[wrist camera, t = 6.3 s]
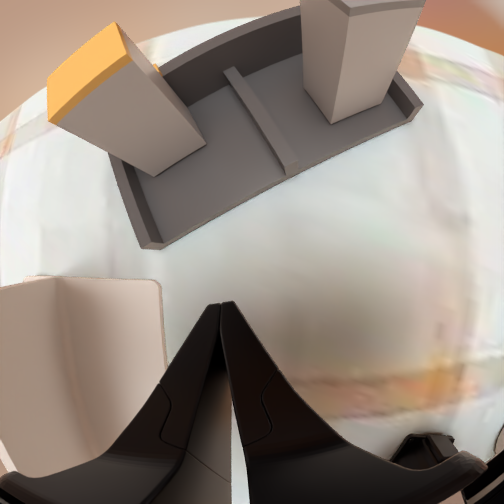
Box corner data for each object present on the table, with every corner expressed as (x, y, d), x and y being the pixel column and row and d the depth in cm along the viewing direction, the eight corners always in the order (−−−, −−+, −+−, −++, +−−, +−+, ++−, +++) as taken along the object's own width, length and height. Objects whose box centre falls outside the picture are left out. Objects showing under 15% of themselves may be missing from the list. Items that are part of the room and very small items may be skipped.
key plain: (381, 103, 18) (426, 0, 6) (330, 124, 18) (350, 7, 7) (352, 69, 18) (372, -37, 7) (303, 87, 19) (297, -29, 7)
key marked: (206, 143, 20) (126, 53, 9) (153, 176, 21) (47, 121, 9) (188, 109, 20) (114, 21, 9) (140, 141, 21) (47, 78, 10)
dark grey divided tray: (411, 120, 18) (441, 80, 12) (160, 249, 22) (110, 246, 15) (340, 37, 20) (345, -10, 13) (121, 147, 23) (77, 122, 16)
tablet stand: (162, 278, 22) (-36, 303, 5) (192, 491, 21) (130, 591, 5) (38, 275, 25) (-81, 279, 8) (76, 449, 24) (1, 501, 8)
